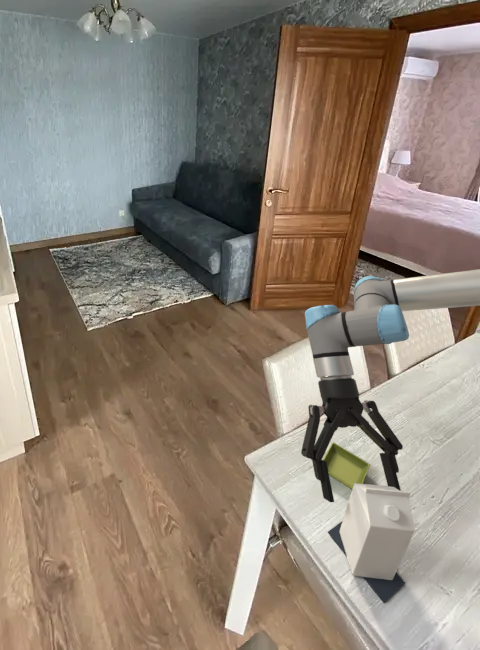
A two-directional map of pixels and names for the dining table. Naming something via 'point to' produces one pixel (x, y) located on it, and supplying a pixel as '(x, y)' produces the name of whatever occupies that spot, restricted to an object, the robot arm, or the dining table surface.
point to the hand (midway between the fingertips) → (362, 496)
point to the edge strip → (378, 585)
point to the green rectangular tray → (345, 466)
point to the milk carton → (376, 530)
